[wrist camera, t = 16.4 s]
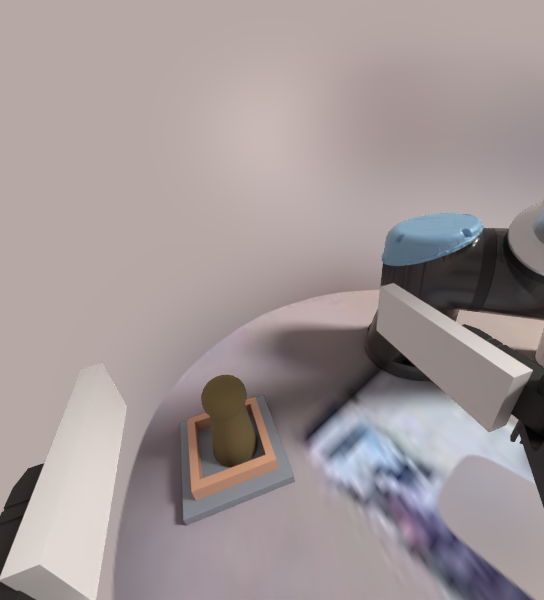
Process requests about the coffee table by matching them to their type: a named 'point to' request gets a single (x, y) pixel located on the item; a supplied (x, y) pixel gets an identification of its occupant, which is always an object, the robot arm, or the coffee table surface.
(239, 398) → the cork
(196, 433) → the pallet plate
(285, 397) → the coffee table surface
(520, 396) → the robot arm
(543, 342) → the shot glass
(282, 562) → the coffee table surface
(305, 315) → the coffee table surface
